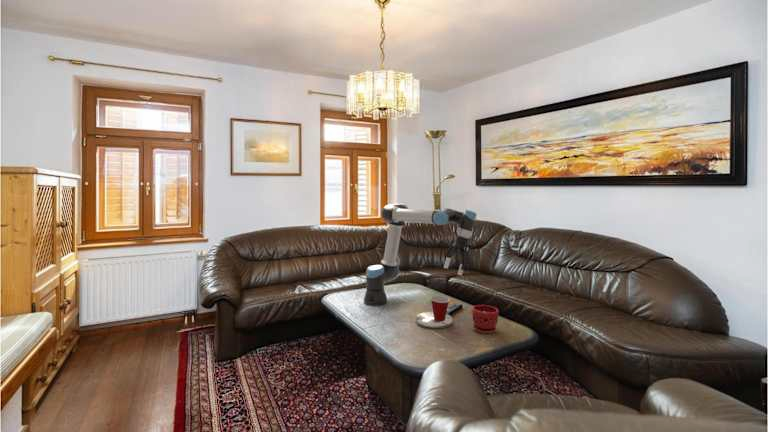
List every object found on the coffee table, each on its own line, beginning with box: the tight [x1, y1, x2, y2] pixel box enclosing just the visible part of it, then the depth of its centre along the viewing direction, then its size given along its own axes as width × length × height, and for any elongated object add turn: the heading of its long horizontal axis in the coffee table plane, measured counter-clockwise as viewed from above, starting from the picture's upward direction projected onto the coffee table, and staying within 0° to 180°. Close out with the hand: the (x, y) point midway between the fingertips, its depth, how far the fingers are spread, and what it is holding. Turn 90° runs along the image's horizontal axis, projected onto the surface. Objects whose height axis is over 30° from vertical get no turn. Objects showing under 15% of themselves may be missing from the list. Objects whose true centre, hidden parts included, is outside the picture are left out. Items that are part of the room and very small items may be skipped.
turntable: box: [415, 311, 453, 329], centre depth 205 cm, size 20×20×2 cm
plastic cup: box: [429, 295, 451, 321], centre depth 202 cm, size 11×11×12 cm
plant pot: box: [471, 304, 500, 335], centre depth 192 cm, size 13×13×12 cm
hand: (452, 271), depth 215 cm, fingers open, 13 cm apart
